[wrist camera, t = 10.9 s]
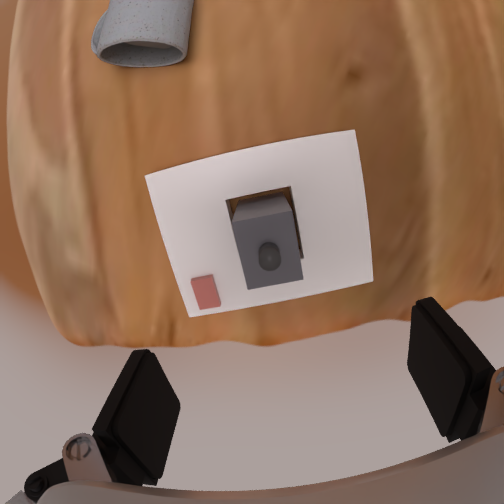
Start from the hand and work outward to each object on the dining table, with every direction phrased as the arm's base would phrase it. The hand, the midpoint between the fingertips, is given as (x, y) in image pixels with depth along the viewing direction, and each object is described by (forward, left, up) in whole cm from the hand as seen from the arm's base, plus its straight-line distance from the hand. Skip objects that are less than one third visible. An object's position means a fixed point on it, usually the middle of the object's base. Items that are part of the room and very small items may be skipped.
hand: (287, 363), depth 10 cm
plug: (0, 0, -19) cm, 19 cm away
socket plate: (0, 0, -19) cm, 19 cm away
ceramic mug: (+7, -21, -20) cm, 29 cm away
